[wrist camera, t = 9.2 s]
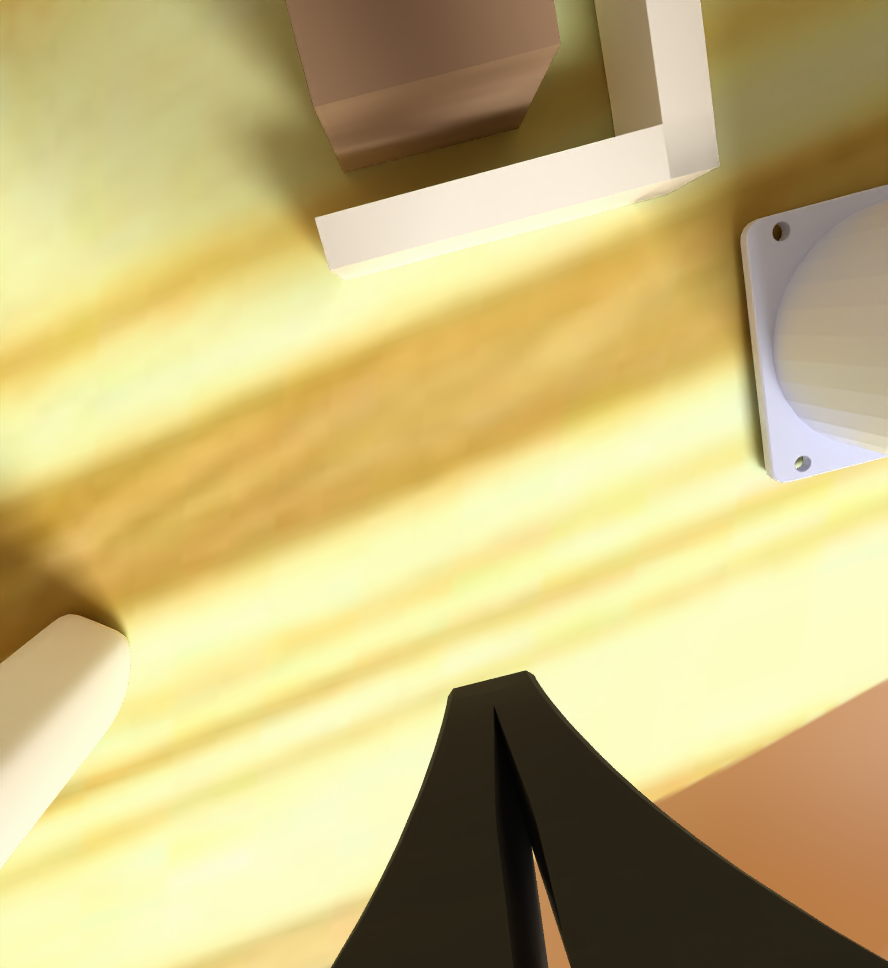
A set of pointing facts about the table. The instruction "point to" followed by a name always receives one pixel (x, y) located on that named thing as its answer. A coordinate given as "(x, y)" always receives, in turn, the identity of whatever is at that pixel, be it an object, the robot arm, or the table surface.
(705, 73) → the dock
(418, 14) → the walnut cube
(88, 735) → the eye dropper bottle
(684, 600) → the table surface
